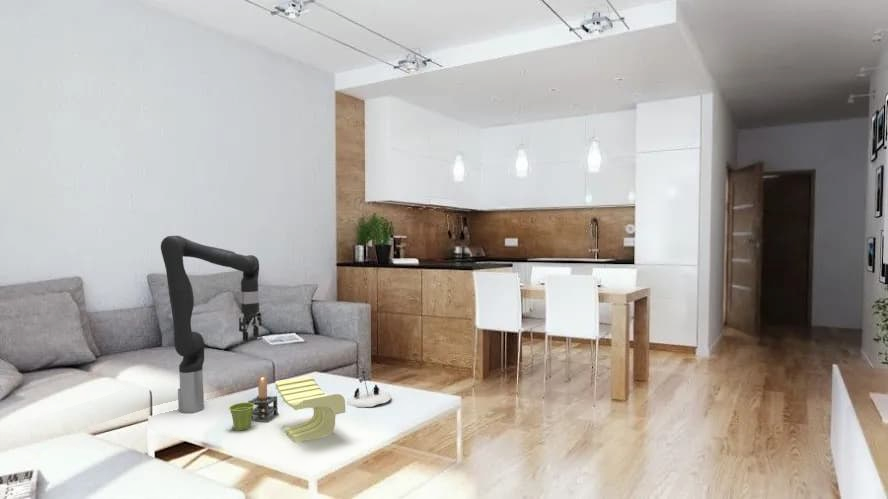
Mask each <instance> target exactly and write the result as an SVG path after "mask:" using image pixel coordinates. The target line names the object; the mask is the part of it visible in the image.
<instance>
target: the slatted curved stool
mask: <svg viewBox="0 0 888 499" xmlns="http://www.w3.org/2000/svg"><path fill="white" fill-rule="evenodd" d="M275 389H276V390H277V393H279V394H280V397H281V398H282V401H283V402H284V403H285V404H287V405H288V406H289V407H291V408H292V409H293V410H295V411H297V410H303V409H310V408H312V409H313V416H312V417H311V418H310V419H309V420H306V421H304V422H302V423H299V424H296V425H292V426H288V427H284V430H283V433H284V434H285V435H286V436H288V437H289V438H290V439H291V440H292V441H294V443H301V441H302V442H305V441H309V440H313V439H317V438H322V437H326V436H330V435H331V434H332V433H333V432H334V430H335V427H336V416H337V415H340V414H341V415H342V414H345V413H346V399H345V398H344V396H343V395H342V394H340V393H335V394H329V395H328V394H326V393H325V392H324V391H322V389H321V387H320V386H319V385H318V382H316V380H315V379H314V378H312V376H310V375H304V376H299V377H292V378H287V379H282V380H281V379H280V380H276V381H275Z"/></svg>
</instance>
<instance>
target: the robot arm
mask: <svg viewBox="0 0 888 499" xmlns="http://www.w3.org/2000/svg"><path fill="white" fill-rule="evenodd" d="M160 252H161V256H162V259H163V263H164V267H165V270H166V279H167V286H168V287H167V288H168V296H169V303H170V307H171V316H172V322H173V343H174V350H175V351H176V353H177V354H178V355H179V356H181V357H182V361H181V362H180V364H179V366H178V369H179V370H178V371H179V387H178V388H177V403H178V412H182V413H185V414H187V413H196V412H197V413H198V412H200V411H203V410H204V408H205V400H204V398H205V397H204V396H205V395H204V374H203V373H204V372H203V366H204V362H205V341H204V337H203V335H202V334H201V333H199V332H197V331H193V330H192V326H191V325H192V323H191V322H192V316H193V310H194V304H195V298H194V297H195V296H194V291H193V286H192V283H191V281H190V278H189V277H188V273H187V272H186V269H185V265H184V259H183V258H184V257H188V258H195V259H199V260H203V261H205V262H207V263H211V264H213V265H216V266H220V267H221V266H222V267H226V268H231V269H234V270H237V271H239V272H242V278H241V281H240V313H241V314H243V317H239V318H238V331H239V332H241V333H242V341H243V342H248V341H249V330H250V328H251V327H252V331H253V332H252V333H253V334H252V335H253V337H254V338H258V337H259V335H260V334H259V329H260V327H261V326H262V324H263V323H262V312H260V295H259V294H260V293H259V274H260V273H259V272H260V262H259V261H260V260H259V259H258V257H256V256H255V255H254V254H253V255H252V254H249V255H243V254H239V253H236V252H235V251H231V250H228V249H223V248H218V247H214V246H208V245H204V244H201V243H199V242H195V241H192V240H190V239H187V238H185V237H183V236H180V235H167V236H166V237H164V238H163V239H162V241H161V243H160Z"/></svg>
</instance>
